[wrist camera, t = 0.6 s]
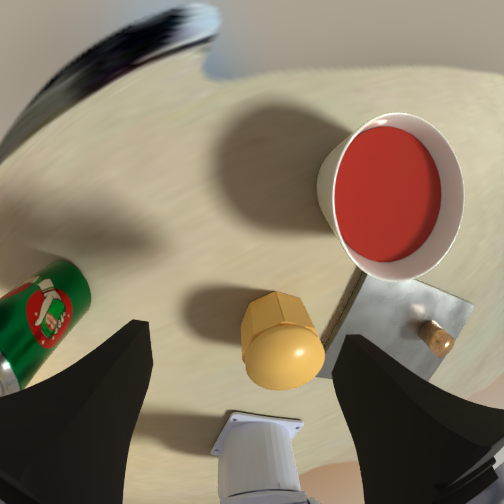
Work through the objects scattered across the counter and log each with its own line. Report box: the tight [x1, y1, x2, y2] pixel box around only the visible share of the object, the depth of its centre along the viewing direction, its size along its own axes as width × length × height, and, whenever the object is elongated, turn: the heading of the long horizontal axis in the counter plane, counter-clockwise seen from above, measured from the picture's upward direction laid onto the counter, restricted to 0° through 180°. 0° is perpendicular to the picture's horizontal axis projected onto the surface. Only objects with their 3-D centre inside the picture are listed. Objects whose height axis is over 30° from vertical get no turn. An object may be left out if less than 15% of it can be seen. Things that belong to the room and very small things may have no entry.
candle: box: [317, 112, 465, 282], centre depth 15 cm, size 9×9×6 cm
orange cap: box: [241, 291, 325, 390], centre depth 18 cm, size 5×5×5 cm
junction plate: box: [315, 271, 475, 382], centre depth 20 cm, size 11×16×4 cm
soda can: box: [0, 261, 91, 397], centre depth 13 cm, size 5×5×12 cm
